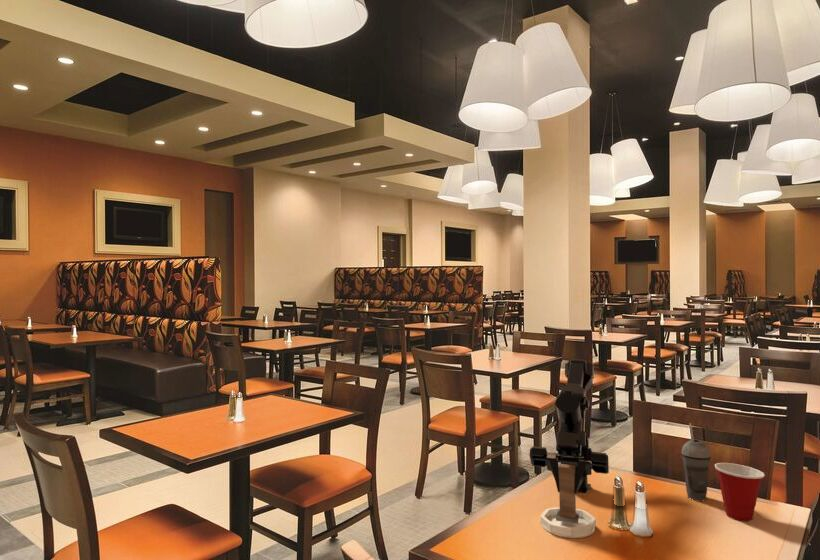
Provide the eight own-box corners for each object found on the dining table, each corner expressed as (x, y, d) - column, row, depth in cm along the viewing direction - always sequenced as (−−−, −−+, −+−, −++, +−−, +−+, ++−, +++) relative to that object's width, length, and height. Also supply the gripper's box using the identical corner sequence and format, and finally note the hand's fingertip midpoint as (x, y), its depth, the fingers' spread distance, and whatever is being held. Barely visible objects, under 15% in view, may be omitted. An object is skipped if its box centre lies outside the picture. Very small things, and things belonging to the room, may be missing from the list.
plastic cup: (776, 523, 133) (775, 474, 133) (735, 527, 131) (734, 476, 131) (743, 505, 143) (742, 459, 143) (705, 508, 142) (704, 462, 142)
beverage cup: (709, 505, 144) (707, 428, 144) (679, 499, 149) (677, 424, 149) (714, 496, 150) (712, 423, 150) (684, 490, 154) (683, 419, 154)
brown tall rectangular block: (558, 512, 136) (557, 461, 136) (579, 515, 134) (578, 463, 134) (556, 520, 132) (555, 468, 132) (577, 523, 130) (576, 470, 130)
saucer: (549, 511, 141) (549, 503, 142) (599, 521, 135) (599, 512, 135) (535, 531, 131) (534, 521, 131) (588, 542, 125) (588, 532, 125)
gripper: (529, 414, 140) (523, 472, 130) (607, 420, 133) (606, 481, 123) (535, 437, 148) (529, 493, 137) (609, 443, 141) (608, 503, 130)
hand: (566, 492), depth 132 cm, fingers closed on brown tall rectangular block, 3 cm apart
